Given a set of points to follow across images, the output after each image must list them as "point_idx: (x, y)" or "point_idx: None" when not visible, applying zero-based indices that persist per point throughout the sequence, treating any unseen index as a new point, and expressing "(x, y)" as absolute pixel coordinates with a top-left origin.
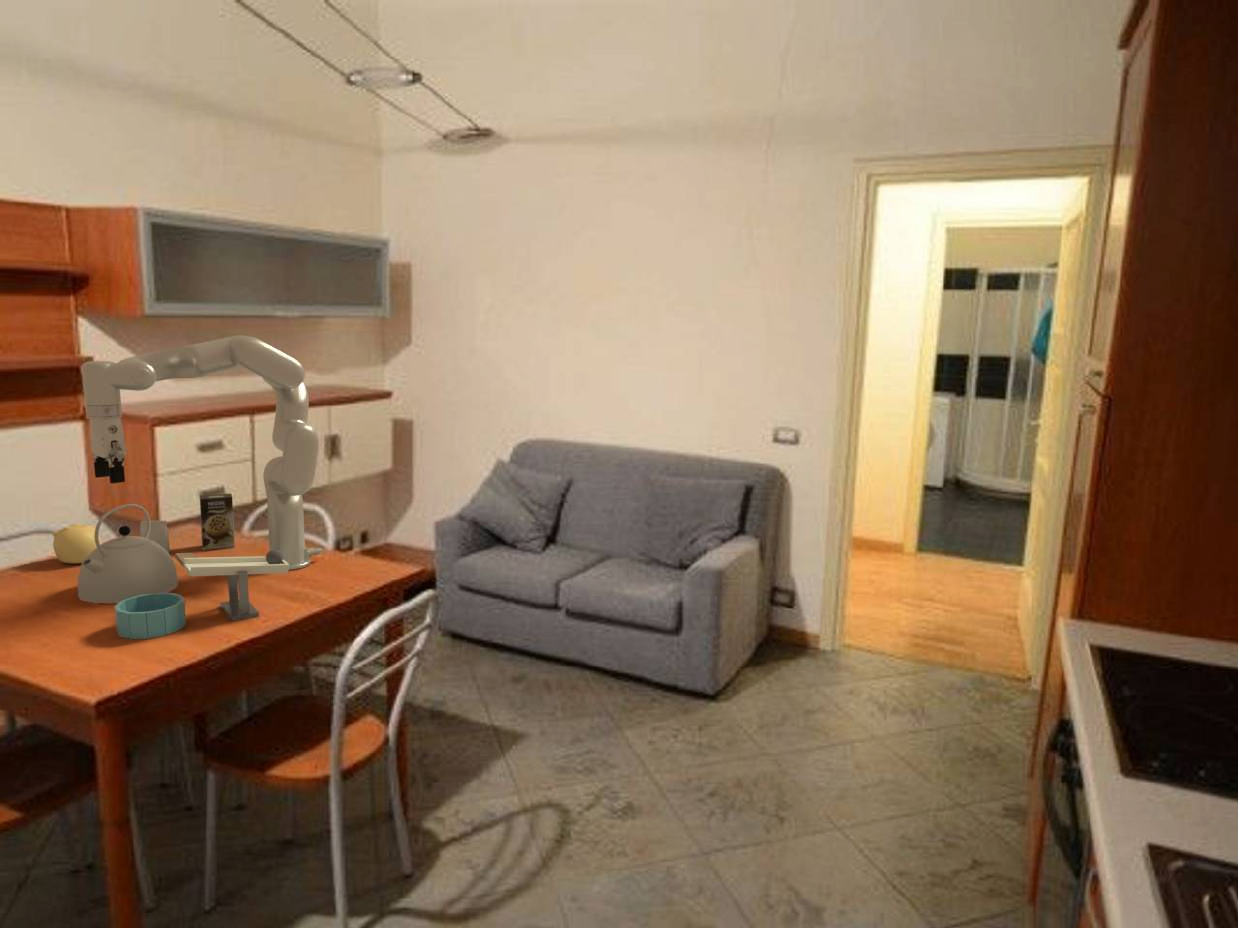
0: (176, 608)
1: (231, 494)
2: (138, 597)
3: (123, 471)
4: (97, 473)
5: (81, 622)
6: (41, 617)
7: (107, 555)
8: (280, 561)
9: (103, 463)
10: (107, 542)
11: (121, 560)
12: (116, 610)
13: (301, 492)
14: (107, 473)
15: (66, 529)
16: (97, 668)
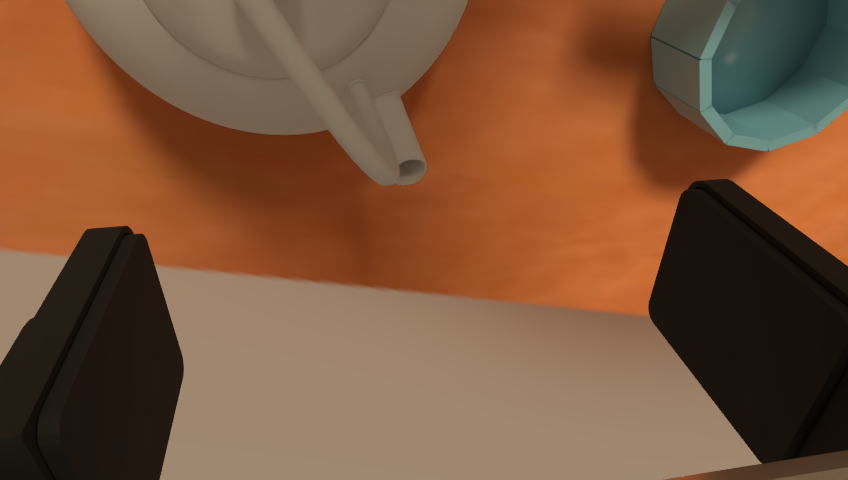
0: None
1: None
2: (710, 55)
3: (825, 264)
4: (174, 399)
5: (531, 163)
6: (404, 230)
7: (370, 75)
8: None
9: (98, 467)
10: (253, 49)
11: (433, 24)
12: (756, 148)
13: None
14: (139, 276)
15: None
16: (832, 207)
